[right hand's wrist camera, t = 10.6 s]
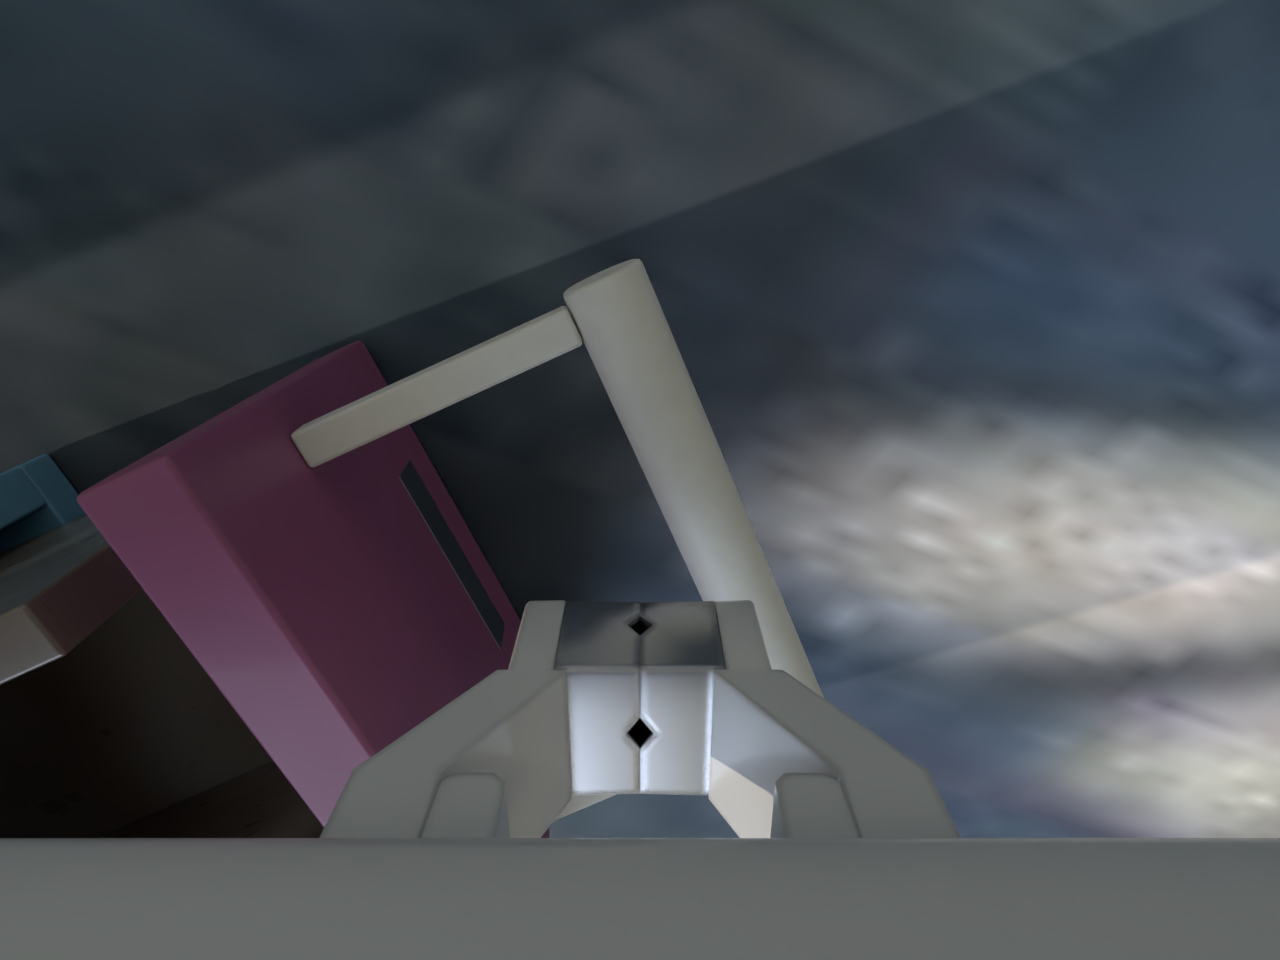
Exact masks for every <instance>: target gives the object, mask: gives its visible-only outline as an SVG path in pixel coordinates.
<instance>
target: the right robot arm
mask: <svg viewBox="0 0 1280 960" xmlns="http://www.w3.org/2000/svg"><path fill="white" fill-rule="evenodd" d="M639 793H640V794H675V795H709V800H710V801H711V802H712V803H713V805H714V806H715V807H716V808H717V810H718V811H719V812H720V813H721V815H722V816H723V817H724V818H725V820H726V821H727V822H728V823H729V825H730V826H731V827H732V828H733V830H734V831H735V832H736V834H737V835H738V836H739V837H740V838H541V837H542V835H543V834H544V833H545V832H546V830H547V829H548V828H549V827H550V825H551V824H552V823H553V822H554V820H555V819H556V818H557V817H558V815H559V814H560V813H561V812H562V810H563V809H564V808H565V807H566V805H567V804H568V803H569V802H570V800H571V795H604V794H639ZM0 960H1280V838H961V837H960V835H959V833H958V831H957V829H956V827H955V825H954V823H953V821H952V819H951V817H950V815H949V813H948V811H947V809H946V806H945V804H944V802H943V800H942V798H941V796H940V794H939V792H938V790H937V788H936V786H935V784H934V782H933V780H932V778H931V776H930V773H929V771H928V770H926V769H925V768H923V767H922V766H920V765H919V764H917V763H916V762H915V761H913V760H912V759H910V758H909V757H907V756H906V755H905V754H903V753H902V752H900V751H899V750H897V749H896V748H894V747H893V746H892V745H890V744H889V743H887V742H886V741H884V740H883V739H882V738H880V737H879V736H877V735H876V734H874V733H873V732H872V731H870V730H869V729H867V728H866V727H864V726H863V725H861V724H860V723H859V722H857V721H856V720H854V719H853V718H851V717H850V716H849V715H847V714H846V713H844V712H843V711H841V710H840V709H838V708H837V707H836V706H834V705H833V704H831V703H830V702H828V701H827V700H826V699H824V698H823V697H821V696H820V695H818V694H817V693H815V692H814V691H813V690H811V689H810V688H808V687H807V686H805V685H804V684H803V683H801V682H800V681H798V680H797V679H795V678H794V677H793V676H791V675H790V674H788V673H787V672H785V671H784V670H772V668H771V664H770V661H769V657H768V653H767V650H766V646H765V642H764V639H763V635H762V631H761V628H760V624H759V621H758V617H757V613H756V610H755V606H754V603H753V602H752V601H751V600H736V601H696V602H654V603H640V602H604V601H567V602H565V601H564V600H545V601H529V602H528V603H527V604H526V605H525V609H524V612H523V616H522V620H521V624H520V627H519V631H518V635H517V638H516V642H515V646H514V649H513V653H512V657H511V660H510V664H509V668H508V670H496V671H495V672H493V673H492V674H490V675H489V676H488V677H486V678H485V679H483V680H482V681H480V682H479V683H477V684H476V685H475V686H473V687H472V688H470V689H469V690H467V691H466V692H464V693H463V694H462V695H460V696H459V697H457V698H456V699H454V700H453V701H451V702H450V703H449V704H447V705H446V706H444V707H443V708H441V709H440V710H438V711H437V712H436V713H434V714H433V715H431V716H430V717H428V718H427V719H425V720H424V721H423V722H421V723H420V724H418V725H417V726H415V727H414V728H412V729H411V730H410V731H408V732H407V733H405V734H404V735H402V736H401V737H399V738H398V739H397V740H395V741H394V742H392V743H391V744H389V745H388V746H386V747H385V748H384V749H382V750H381V751H379V752H378V753H376V754H375V755H373V756H372V757H371V758H369V759H368V760H366V761H365V762H363V763H362V764H360V765H359V766H358V767H356V768H355V769H353V770H352V772H351V774H350V776H349V778H348V780H347V782H346V785H345V787H344V789H343V791H342V793H341V795H340V797H339V799H338V801H337V803H336V805H335V807H334V809H333V811H332V813H331V815H330V817H329V819H328V821H327V823H326V825H325V827H324V829H323V831H322V833H321V835H320V837H319V838H0Z"/></svg>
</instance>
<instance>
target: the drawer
mask: <svg viewBox="0 0 1280 960" xmlns="http://www.w3.org/2000/svg"><path fill="white" fill-rule="evenodd" d="M563 298H564V301H565V303H566V305H567V306H561V307H559V308H557V309H554V310H552V311H550V312H548V313H546V314H544V315H541V316H539V317H537V318H535V319H533V320H530V321H528V322H526V323H524V324H522V325H520V326H517V327H515V328H513V329H511V330H509V331H506V332H504V333H502V334H500V335H498V336H496V337H493V338H491V339H489V340H487V341H485V342H482V343H480V344H478V345H476V346H474V347H472V348H469V349H467V350H465V351H463V352H461V353H458V354H456V355H454V356H452V357H450V358H448V359H445V360H443V361H441V362H439V363H437V364H434V365H432V366H430V367H428V368H426V369H424V370H421V371H419V372H417V373H415V374H413V375H410V376H408V377H406V378H404V379H402V380H400V381H397V382H395V383H393V384H391V385H389V386H388V385H387V383H386V382H385V380H384V378H383V376H382V374H381V373H380V371H379V369H378V367H377V366H376V364H375V362H374V360H373V359H372V357H371V355H370V353H369V351H368V350H367V348H366V346H365V344H364V343H363V342H362V341H361V340H357V341H355V342H353V343H350V344H348V345H346V346H344V347H342V348H340V349H338V350H335V351H333V352H331V353H329V354H327V355H325V356H322V357H320V358H318V359H316V360H314V361H312V362H310V363H309V364H307V365H305V366H303V367H302V368H300V369H298V370H296V371H295V372H293V373H291V374H289V375H287V376H286V377H284V378H282V379H280V380H279V381H277V382H275V383H273V384H272V385H270V386H268V387H266V388H264V389H263V390H261V391H259V392H257V393H256V394H254V395H252V396H250V397H248V398H247V399H245V400H243V401H241V402H240V403H238V404H236V405H234V406H233V407H231V408H229V409H227V410H225V411H224V412H222V413H220V414H218V415H217V416H215V417H213V418H211V419H210V420H208V421H206V422H204V423H202V424H201V425H199V426H197V427H195V428H194V429H192V430H190V431H188V432H187V433H185V434H183V435H181V436H179V437H178V438H176V439H174V440H172V441H171V442H169V443H167V444H165V445H164V446H162V447H160V448H158V449H156V450H155V451H153V452H151V453H149V454H148V455H146V456H144V457H142V458H140V459H139V460H137V461H135V462H133V463H132V464H130V465H128V466H126V467H125V468H123V469H121V470H119V471H117V472H116V473H114V474H112V475H110V476H109V477H107V478H105V479H103V480H102V481H100V482H98V483H96V484H94V485H93V486H91V487H89V488H87V489H86V490H84V491H82V492H81V493H80V494H79V495H78V496H77V498H76V499H77V502H78V504H79V505H80V506H81V508H82V509H83V510H84V512H85V513H86V514H84V515H82V516H80V517H78V518H76V519H73V520H71V521H69V522H67V523H65V524H62V525H60V526H58V527H56V528H54V529H52V530H49V531H47V532H45V533H43V534H41V535H38V536H36V537H34V538H32V539H30V540H28V541H25V542H23V543H21V544H19V545H17V546H15V547H12V548H10V549H8V550H6V551H4V552H1V553H0V838H319V837H320V835H321V833H322V831H323V829H324V827H325V825H326V823H327V821H328V819H329V817H330V815H331V813H332V811H333V809H334V807H335V805H336V803H337V801H338V799H339V797H340V795H341V793H342V791H343V789H344V787H345V785H346V782H347V780H348V778H349V776H350V774H351V772H352V770H353V769H355V768H356V767H358V766H359V765H360V764H362V763H363V762H365V761H366V760H368V759H369V758H371V757H372V756H373V755H375V754H376V753H378V752H379V751H381V750H382V749H384V748H385V747H386V746H388V745H389V744H391V743H392V742H394V741H395V740H397V739H398V738H399V737H401V736H402V735H404V734H405V733H407V732H408V731H410V730H411V729H412V728H414V727H415V726H417V725H418V724H420V723H421V722H423V721H424V720H425V719H427V718H428V717H430V716H431V715H433V714H434V713H436V712H437V711H438V710H440V709H441V708H443V707H444V706H446V705H447V704H449V703H450V702H451V701H453V700H454V699H456V698H457V697H459V696H460V695H462V694H463V693H464V692H466V691H467V690H469V689H470V688H472V687H473V686H475V685H476V684H477V683H479V682H480V681H482V680H483V679H485V678H486V677H488V676H489V675H490V674H492V673H493V672H495V671H496V670H508V668H509V664H510V660H511V657H512V653H513V649H514V646H515V642H516V638H517V635H518V631H519V627H520V624H521V620H520V619H519V617H518V615H517V613H516V612H515V610H514V608H513V606H512V605H511V603H510V601H509V599H508V597H507V596H506V594H505V592H504V590H503V589H502V587H501V585H500V583H499V582H498V580H497V578H496V576H495V574H494V573H493V571H492V569H491V567H490V566H489V564H488V562H487V560H486V559H485V557H484V555H483V553H482V551H481V550H480V548H479V546H478V544H477V543H476V541H475V539H474V537H473V536H472V534H471V532H470V530H469V528H468V527H467V525H466V523H465V521H464V520H463V518H462V516H461V514H460V512H459V511H458V509H457V507H456V505H455V504H454V502H453V500H452V498H451V497H450V495H449V493H448V491H447V489H446V488H445V486H444V484H443V482H442V481H441V479H440V477H439V475H438V474H437V472H436V470H435V468H434V466H433V465H432V463H431V461H430V459H429V458H428V456H427V454H426V452H425V451H424V449H423V447H422V445H421V443H420V442H419V440H418V438H417V436H416V435H415V433H414V431H413V429H412V428H411V426H410V424H411V423H413V422H415V421H417V420H420V419H422V418H424V417H426V416H428V415H431V414H433V413H435V412H437V411H439V410H441V409H444V408H446V407H448V406H450V405H452V404H455V403H457V402H459V401H461V400H463V399H466V398H468V397H470V396H472V395H474V394H477V393H479V392H481V391H483V390H485V389H488V388H490V387H492V386H494V385H496V384H499V383H501V382H503V381H505V380H507V379H510V378H512V377H514V376H516V375H518V374H521V373H523V372H525V371H527V370H529V369H532V368H534V367H536V366H538V365H540V364H543V363H545V362H547V361H549V360H551V359H554V358H556V357H558V356H560V355H562V354H565V353H567V352H569V351H571V350H573V349H576V348H578V347H580V346H581V345H582V340H583V342H584V344H585V346H586V348H587V350H588V353H589V355H590V357H591V359H592V361H593V363H594V366H595V368H596V370H597V372H598V374H599V377H600V379H601V381H602V383H603V385H604V387H605V390H606V392H607V394H608V396H609V398H610V400H611V403H612V405H613V407H614V409H615V411H616V413H617V416H618V418H619V420H620V422H621V424H622V426H623V429H624V431H625V433H626V435H627V437H628V440H629V442H630V444H631V446H632V448H633V450H634V453H635V455H636V457H637V459H638V461H639V463H640V466H641V468H642V470H643V472H644V474H645V476H646V479H647V481H648V483H649V485H650V487H651V489H652V492H653V494H654V496H655V498H656V500H657V502H658V505H659V507H660V509H661V511H662V513H663V516H664V518H665V520H666V522H667V524H668V526H669V529H670V531H671V533H672V535H673V537H674V539H675V542H676V544H677V546H678V548H679V550H680V552H681V555H682V557H683V559H684V561H685V563H686V565H687V568H688V570H689V572H690V574H691V576H692V579H693V581H694V583H695V585H696V587H697V589H698V592H699V594H700V596H701V598H702V600H703V601H736V600H751V601H752V602H753V603H754V606H755V610H756V613H757V617H758V621H759V624H760V628H761V631H762V635H763V639H764V642H765V646H766V650H767V653H768V657H769V661H770V664H771V668H772V670H784V671H785V672H787V673H788V674H790V675H791V676H793V677H794V678H795V679H797V680H798V681H800V682H801V683H803V684H804V685H805V686H807V687H808V688H810V689H811V690H813V691H814V692H815V693H817V694H818V695H820V696H821V697H823V695H822V692H821V690H820V687H819V685H818V683H817V680H816V678H815V675H814V673H813V671H812V668H811V666H810V663H809V661H808V659H807V656H806V654H805V652H804V649H803V647H802V644H801V642H800V640H799V637H798V635H797V632H796V630H795V628H794V625H793V623H792V620H791V618H790V616H789V613H788V611H787V608H786V606H785V604H784V601H783V599H782V596H781V594H780V592H779V589H778V587H777V584H776V582H775V580H774V577H773V575H772V572H771V570H770V568H769V565H768V563H767V560H766V558H765V556H764V553H763V551H762V548H761V546H760V544H759V541H758V539H757V536H756V534H755V532H754V529H753V527H752V524H751V522H750V520H749V517H748V515H747V512H746V510H745V508H744V505H743V503H742V500H741V498H740V496H739V493H738V491H737V488H736V486H735V484H734V481H733V479H732V476H731V474H730V472H729V469H728V467H727V464H726V462H725V460H724V457H723V455H722V452H721V450H720V448H719V445H718V443H717V440H716V438H715V436H714V433H713V431H712V428H711V426H710V424H709V421H708V419H707V416H706V414H705V412H704V409H703V407H702V404H701V402H700V400H699V397H698V395H697V392H696V390H695V388H694V385H693V383H692V380H691V378H690V376H689V373H688V371H687V368H686V366H685V364H684V361H683V359H682V356H681V354H680V352H679V349H678V347H677V344H676V342H675V340H674V337H673V335H672V332H671V330H670V328H669V325H668V323H667V320H666V318H665V316H664V313H663V311H662V308H661V306H660V304H659V301H658V299H657V296H656V294H655V292H654V289H653V287H652V284H651V282H650V280H649V277H648V275H647V272H646V270H645V268H644V265H643V263H642V261H641V260H640V259H631V260H628V261H625V262H622V263H619V264H617V265H614V266H612V267H610V268H607V269H605V270H603V271H601V272H598V273H596V274H594V275H592V276H590V277H588V278H586V279H584V280H582V281H580V282H578V283H576V284H574V285H573V286H571V287H570V288H568V289H567V290H566V291H565V292H564V293H563ZM823 698H824V697H823ZM614 795H616V794H604V795H571V800H570V802H569V803H568V804H567V805H566V807H565V808H564V809H563V810H562V812H561V813H560V814H559V815H558V817H557V818H556V819H555V820H557V819H560V818H562V817H564V816H567V815H569V814H571V813H574V812H576V811H578V810H581V809H583V808H585V807H588V806H590V805H593V804H595V803H597V802H600V801H602V800H604V799H607V798H609V797H611V796H614ZM555 820H554V821H555ZM541 838H549V828H548V829H547V830H546V832H545V833H544V834H543V835H542V837H541Z"/></svg>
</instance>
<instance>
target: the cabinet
mask: <svg viewBox="0 0 1280 960" xmlns="http://www.w3.org/2000/svg"><path fill="white" fill-rule="evenodd" d="M78 495H79V494H78V493H77V492H76V490H75V489H74V488H73V486H72V485H71V484H70V483H69V481H68V480H67V479H66V477H65V476H64V475H63V473H62V472H61V471H60V469H59V468H58V467H57V465H56V464H55V463H54V461H53V460H52V459H51V457H50V456H49V455H48V454H42V455H40V456H38V457H36V458H34V459H31V460H29V461H27V462H25V463H22V464H20V465H18V466H16V467H14V468H11V469H9V470H7V471H5V472H2V473H0V553H1V552H4V551H6V550H8V549H10V548H12V547H15V546H17V545H19V544H21V543H23V542H25V541H28V540H30V539H32V538H34V537H36V536H38V535H41V534H43V533H45V532H47V531H49V530H52V529H54V528H56V527H58V526H60V525H62V524H65V523H67V522H69V521H71V520H73V519H76V518H78V517H80V516H82V515H84V514H86V513H85V512H84V510H83V509H82V508H81V506H80V505H79V504H78V502H77V499H76V498H77V496H78Z"/></svg>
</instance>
